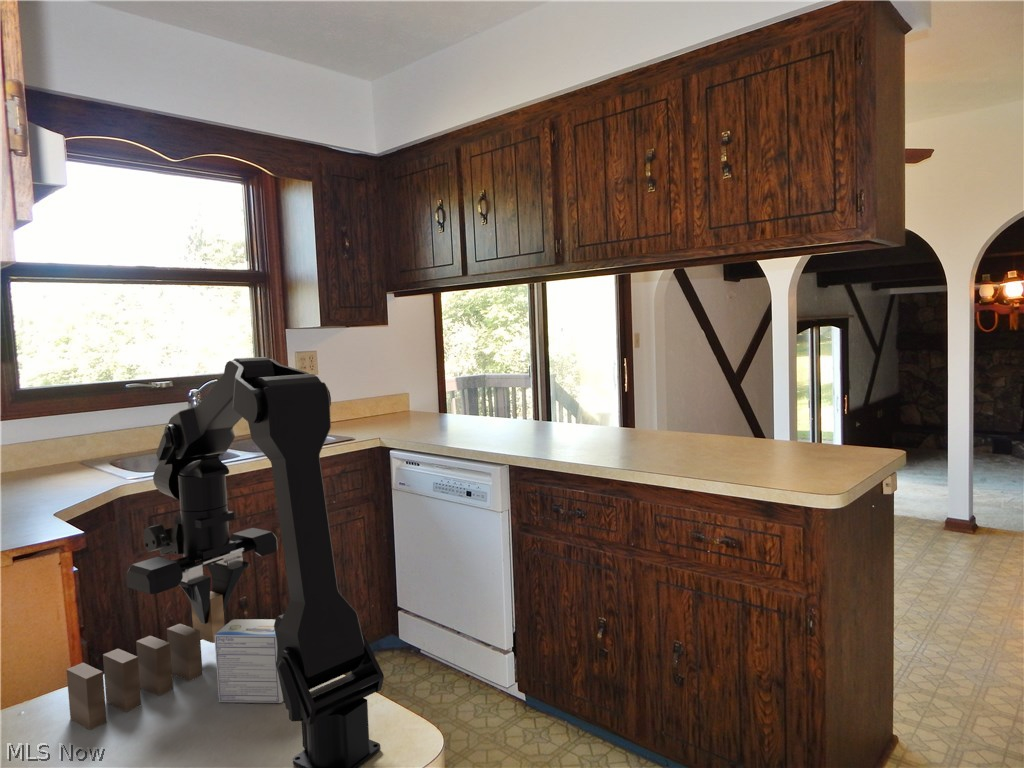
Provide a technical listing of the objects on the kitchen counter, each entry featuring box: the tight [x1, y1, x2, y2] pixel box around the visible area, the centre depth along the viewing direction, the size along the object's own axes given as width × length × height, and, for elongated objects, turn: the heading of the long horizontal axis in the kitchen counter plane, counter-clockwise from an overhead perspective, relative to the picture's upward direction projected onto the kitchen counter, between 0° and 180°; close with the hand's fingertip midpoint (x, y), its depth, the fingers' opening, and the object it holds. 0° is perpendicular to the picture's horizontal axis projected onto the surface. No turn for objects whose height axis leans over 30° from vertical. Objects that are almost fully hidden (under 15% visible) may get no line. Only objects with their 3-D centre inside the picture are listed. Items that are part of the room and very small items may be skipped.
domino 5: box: [190, 590, 226, 644], centre depth 90 cm, size 2×4×6 cm, turn 58°
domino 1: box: [66, 662, 107, 731], centre depth 77 cm, size 2×4×6 cm, turn 58°
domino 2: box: [102, 648, 142, 713], centre depth 80 cm, size 2×4×6 cm, turn 58°
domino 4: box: [166, 623, 204, 682], centre depth 87 cm, size 2×4×6 cm, turn 58°
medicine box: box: [214, 618, 284, 704], centre depth 81 cm, size 8×4×9 cm, turn 85°
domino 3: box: [135, 635, 174, 697], centre depth 84 cm, size 2×4×6 cm, turn 58°
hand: (211, 619), depth 90 cm, fingers closed on domino 5, 2 cm apart
